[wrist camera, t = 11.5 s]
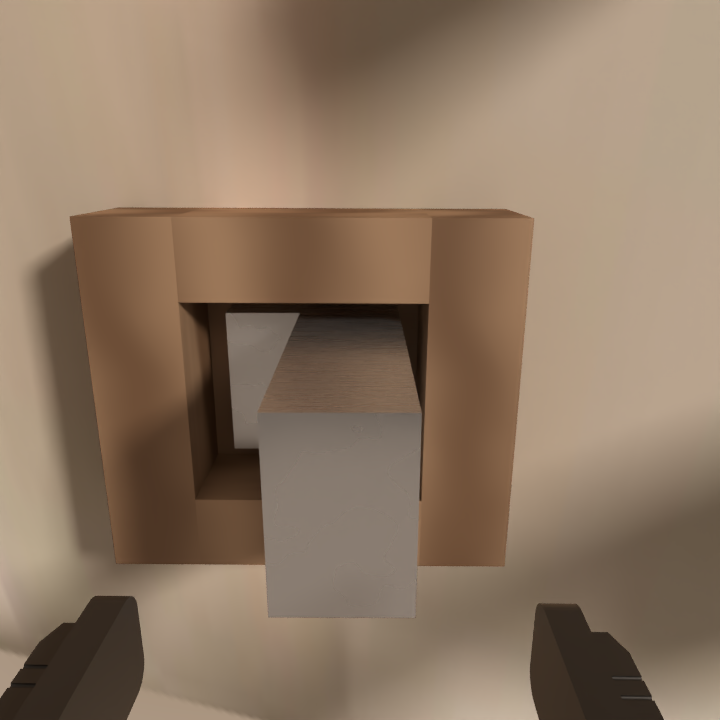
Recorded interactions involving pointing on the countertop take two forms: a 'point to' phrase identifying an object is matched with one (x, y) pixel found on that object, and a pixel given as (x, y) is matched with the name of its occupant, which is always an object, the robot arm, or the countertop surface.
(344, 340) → the grey block
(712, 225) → the countertop surface
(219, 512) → the well block
